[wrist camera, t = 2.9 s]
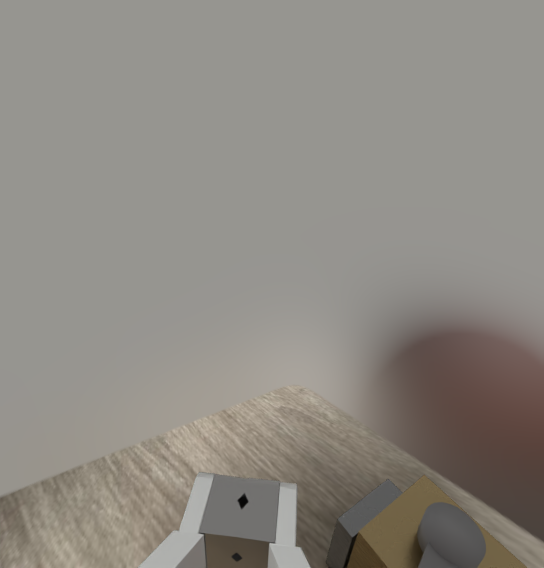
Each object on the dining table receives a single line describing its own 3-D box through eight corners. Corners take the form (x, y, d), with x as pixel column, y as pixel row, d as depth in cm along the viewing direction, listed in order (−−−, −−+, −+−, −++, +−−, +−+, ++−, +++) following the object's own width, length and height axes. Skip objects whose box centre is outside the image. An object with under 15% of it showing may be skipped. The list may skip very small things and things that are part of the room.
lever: (427, 505, 22) (475, 397, 18) (481, 544, 20) (550, 432, 16) (333, 727, 13) (385, 616, 9) (413, 826, 12) (519, 743, 8)
